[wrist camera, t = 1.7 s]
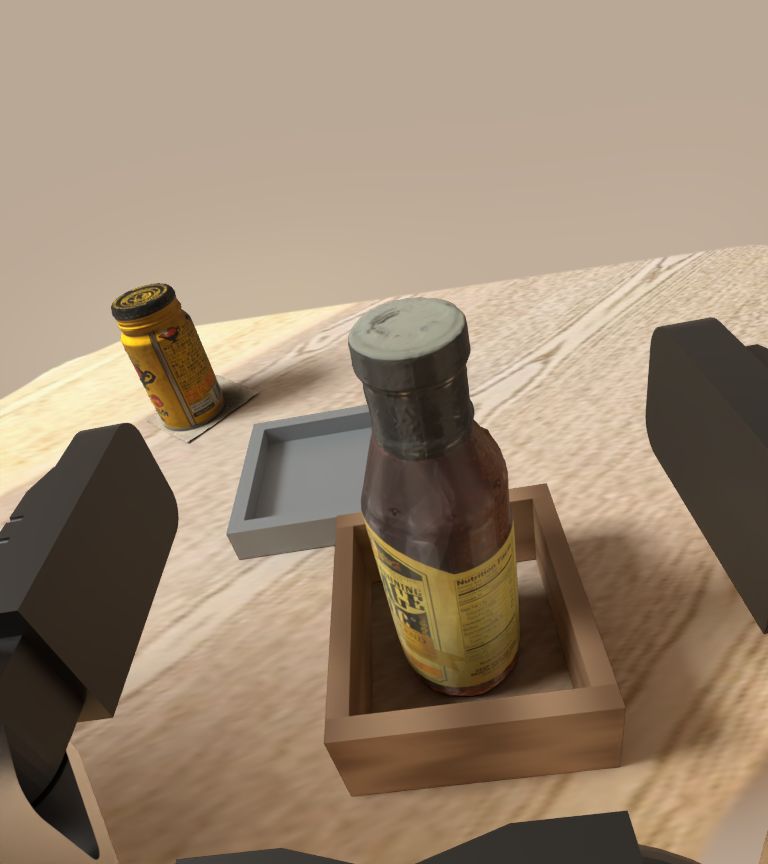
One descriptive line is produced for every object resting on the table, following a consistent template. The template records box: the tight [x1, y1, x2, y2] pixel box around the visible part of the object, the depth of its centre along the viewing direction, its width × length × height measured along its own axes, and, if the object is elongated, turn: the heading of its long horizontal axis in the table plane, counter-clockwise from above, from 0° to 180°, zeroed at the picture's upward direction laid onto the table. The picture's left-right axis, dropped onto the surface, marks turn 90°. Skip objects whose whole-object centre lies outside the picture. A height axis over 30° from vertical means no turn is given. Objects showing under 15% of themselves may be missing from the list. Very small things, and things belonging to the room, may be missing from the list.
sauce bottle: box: [348, 297, 520, 696], centre depth 27 cm, size 6×6×20 cm
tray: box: [227, 405, 372, 560], centre depth 44 cm, size 12×12×2 cm
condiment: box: [111, 283, 260, 443], centre depth 54 cm, size 7×8×12 cm
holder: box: [324, 483, 626, 796], centre depth 31 cm, size 12×13×5 cm
